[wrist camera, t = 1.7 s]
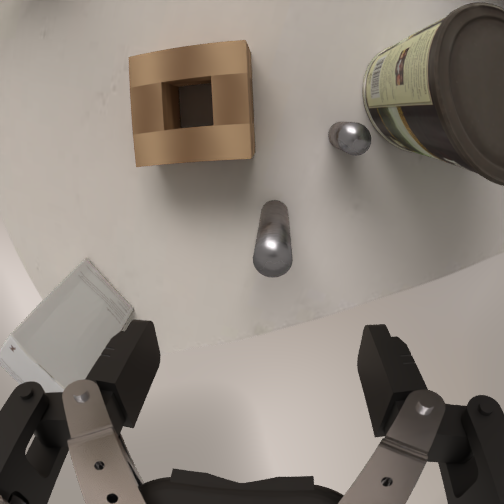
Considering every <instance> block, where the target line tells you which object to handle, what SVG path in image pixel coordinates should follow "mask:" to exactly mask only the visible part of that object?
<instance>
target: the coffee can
mask: <svg viewBox="0 0 504 504" xmlns="http://www.w3.org/2000/svg"><path fill="white" fill-rule="evenodd" d="M363 99H364V105H365V109H366V111H367V114H368V116H369V118H370V120H371V122H372V124H373V125H374V127H375V128H376V130H377V131H378V132H379V133H380V134H381V135H382V136H383V137H384V138H385V139H386V140H387V141H388V142H389V143H391V144H392V145H394V146H396V147H398V148H400V149H403V150H406V151H409V152H415V153H419V154H422V155H426V156H429V157H432V158H436V159H439V160H442V161H445V162H448V163H450V164H453V165H456V166H459V167H461V168H465V169H467V170H470V171H473V172H475V173H478V174H479V175H481V176H483V177H484V178H486V179H488V180H490V181H492V182H494V183H496V184H499V185H503V186H504V9H503V8H501V7H499V6H496V5H493V4H488V3H470V4H467V5H464V6H462V7H459V8H458V9H456V10H454V11H452V12H451V13H450V14H449V15H448V16H447V17H446V18H444V19H442V20H440V21H438V22H436V23H434V24H432V25H430V26H428V27H426V28H424V29H422V30H421V31H419V32H417V33H415V34H413V35H411V36H409V37H408V38H406V39H404V40H402V41H401V42H399V43H397V44H395V45H394V46H392V47H389V48H387V49H385V50H383V51H381V52H380V53H379V54H377V55H376V56H375V57H374V59H373V60H372V61H371V63H370V64H369V65H368V68H367V70H366V73H365V77H364V81H363Z"/></svg>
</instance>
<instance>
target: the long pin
mask: <svg viewBox="0 0 504 504" xmlns="http://www.w3.org/2000/svg"><path fill="white" fill-rule="evenodd" d="M253 263H254V266H255V268H256V269H257V271H258V272H259V273H261V274H262V275H264V276H267V277H279V276H281V275H283V274H285V273H286V272H287V271H288V270H289V269H290V267H291V265H292V249H291V238H290V227H289V217H288V210H287V207H286V206H285V205H284V204H283V203H282V202H280V201H277V200H272V201H269V202H267V203H266V204H265V205H264V206H263V208H262V211H261V216H260V222H259V228H258V233H257V239H256V244H255V250H254V256H253Z"/></svg>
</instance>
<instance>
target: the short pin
mask: <svg viewBox="0 0 504 504" xmlns="http://www.w3.org/2000/svg"><path fill="white" fill-rule="evenodd" d="M328 135H329V140H330V142H331V143H332V145H334V146H335V147H337V148H339V149H341V150H343V151H345V152H346V153H348V154H351V155H361V154H363V153H365V152H366V151H367V150H368V149H369V147H370V144H371V135H370V132H369V130H368V129H367V128H366V127H365V126H364V125H362V124H360V123H355V122H337V123H335V124H333V125H332V126H331V128H330V130H329V134H328Z"/></svg>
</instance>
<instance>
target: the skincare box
mask: <svg viewBox="0 0 504 504" xmlns="http://www.w3.org/2000/svg"><path fill="white" fill-rule="evenodd" d="M133 310H134V309H133V307H132V306H131V305H130V304H129V303H128V302H127V301H126V300H125V299H124V298H123V297H122V296H121V295H120V294H119V293H118V292H117V291H116V290H115V289H114V288H113V287H112V286H111V284H110V283H109V282H108V281H107V280H106V279H105V278H104V277H103V276H102V275H101V274H100V273H99V271H98V270H97V269H96V268H95V267H94V266H93V265H92V264H91V262H90V261H89V260H88V259H85V260H83V261H82V262H81V263H80V264H79V265H78V266H77V267H76V268H75V269H74V270H73V271H72V272H71V273H70V274H69V275H68V276H67V277H66V278H65V279H64V280H63V281H62V282H61V283H60V284H59V285H58V286H57V287H56V288H55V289H54V290H53V291H52V292H51V293H50V294H49V295H48V296H47V297H46V298H45V299H44V300H43V301H42V302H41V303H40V304H39V305H38V306H37V307H36V308H35V309H34V310H33V311H32V312H31V313H30V314H29V315H28V317H26V319H25V320H24V321H23V322H22V323H21V324H20V325H19V326H18V327H17V328H16V329H15V330H14V331H13V332H12V333H11V334H10V335H9V337H8V338H7V339H6V341H5V342H4V344H3V346H2V347H1V349H0V366H1V367H2V368H3V369H4V370H5V371H6V372H7V373H8V374H9V375H10V376H12V377H13V378H14V379H15V380H16V381H17V382H18V383H19V384H22V383H25V382H29V381H33V382H37V383H39V384H40V385H41V386H42V388H43V389H44V391H45V393H50V392H63V391H64V389H65V388H66V387H67V386H68V385H69V384H71V383H72V382H74V381H77V380H83V379H85V378H86V377H87V375H88V374H89V372H90V370H91V369H92V367H93V366H94V364H95V362H96V361H97V359H98V358H99V356H101V353H102V352H103V350H104V349H105V348H106V345H107V344H108V342H109V341H110V339H111V338H112V337H113V336H115V335H116V334H117V333H119V332H120V331H121V330H122V328H123V327H124V325H125V323H126V321H127V320H128V318H129V316H130V315H131V313H132V311H133Z"/></svg>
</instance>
